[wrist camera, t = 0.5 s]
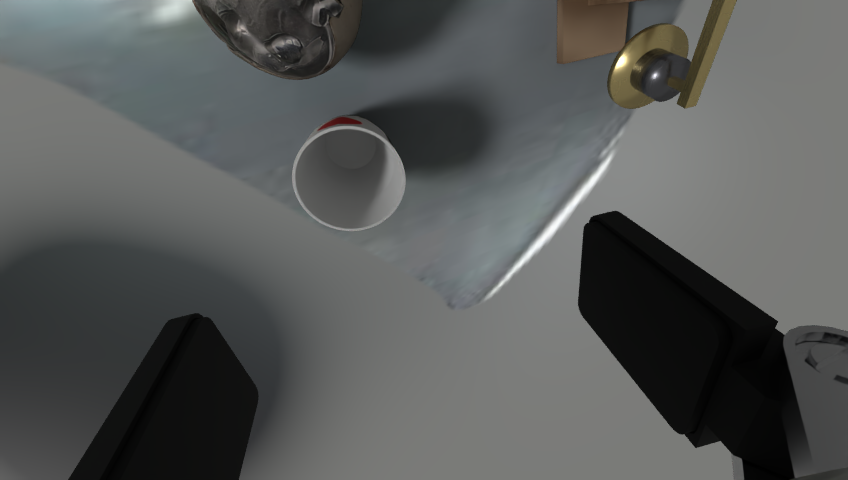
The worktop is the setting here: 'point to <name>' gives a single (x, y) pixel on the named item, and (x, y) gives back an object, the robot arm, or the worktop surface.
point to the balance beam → (667, 62)
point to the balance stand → (590, 28)
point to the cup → (348, 174)
